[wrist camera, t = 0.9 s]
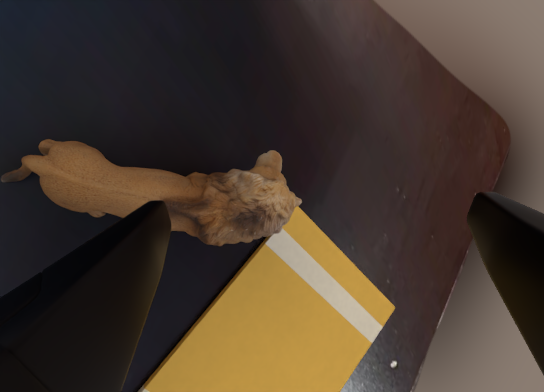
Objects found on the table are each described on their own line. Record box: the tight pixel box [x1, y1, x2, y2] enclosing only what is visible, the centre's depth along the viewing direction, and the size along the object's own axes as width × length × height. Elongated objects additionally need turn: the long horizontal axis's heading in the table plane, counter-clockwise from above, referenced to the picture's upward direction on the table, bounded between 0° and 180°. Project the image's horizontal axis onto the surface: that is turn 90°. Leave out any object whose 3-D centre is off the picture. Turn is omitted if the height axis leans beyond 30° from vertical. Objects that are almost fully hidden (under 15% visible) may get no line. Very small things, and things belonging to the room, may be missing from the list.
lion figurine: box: [1, 139, 302, 246], centre depth 16 cm, size 15×5×9 cm, turn 86°
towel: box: [138, 206, 395, 392], centre depth 24 cm, size 20×14×1 cm
